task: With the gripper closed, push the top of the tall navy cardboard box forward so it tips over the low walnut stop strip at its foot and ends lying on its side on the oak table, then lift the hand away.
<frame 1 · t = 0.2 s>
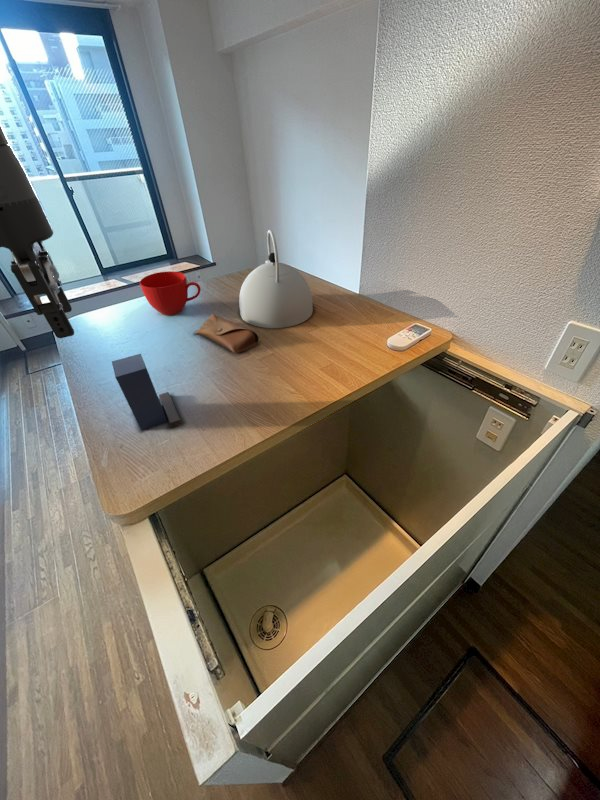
hand: (65, 323, 48), 23 cm above the table, tool pointing down, fingers open, 8 cm apart
kettle: (276, 309, 103), on the table
sunglasses case: (226, 338, 90), on the table
ceramic cup: (178, 311, 103), on the table
stop strip: (170, 410, 68), on the table
navy box: (151, 417, 66), on the table
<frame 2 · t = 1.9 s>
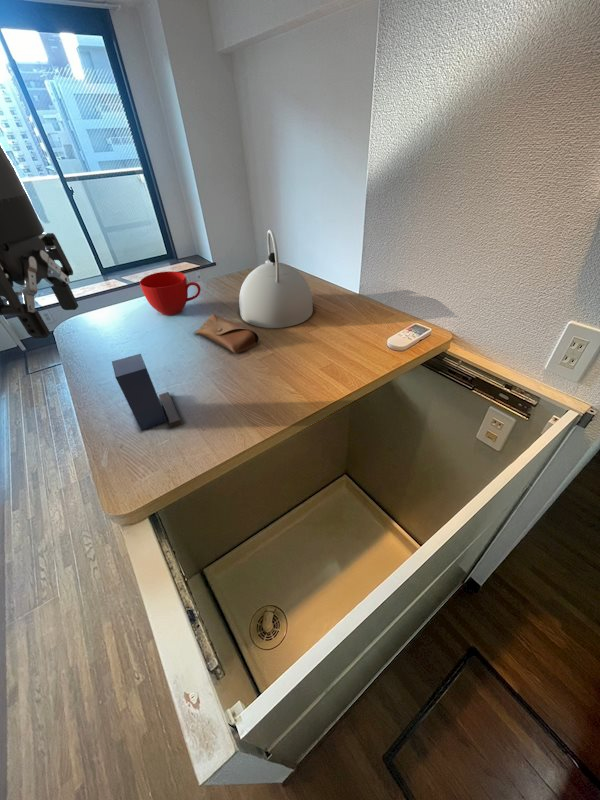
hand: (57, 322, 48), 23 cm above the table, tool pointing down, fingers open, 8 cm apart
nothing on the table moved.
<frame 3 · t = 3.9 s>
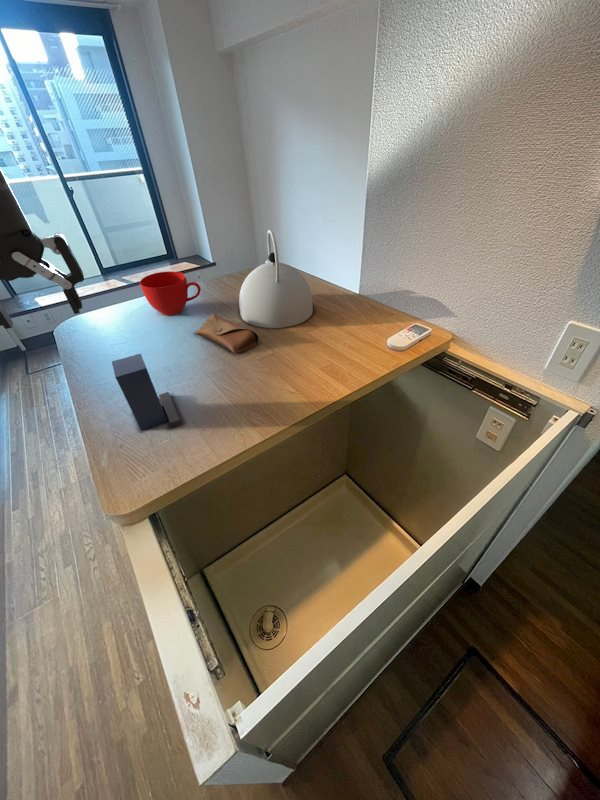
hand: (44, 318, 47), 24 cm above the table, tool pointing down, fingers open, 8 cm apart
nothing on the table moved.
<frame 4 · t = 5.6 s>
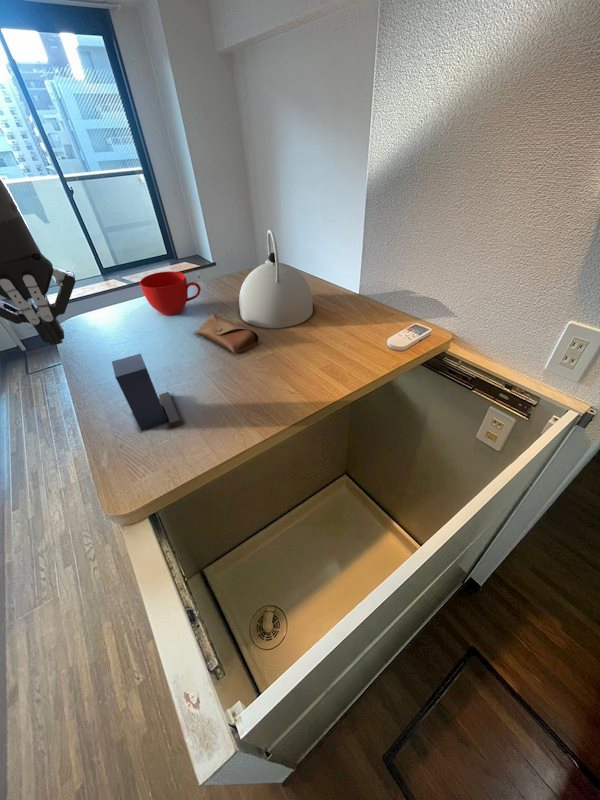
hand: (56, 342, 50), 20 cm above the table, tool pointing down, fingers closed
nothing on the table moved.
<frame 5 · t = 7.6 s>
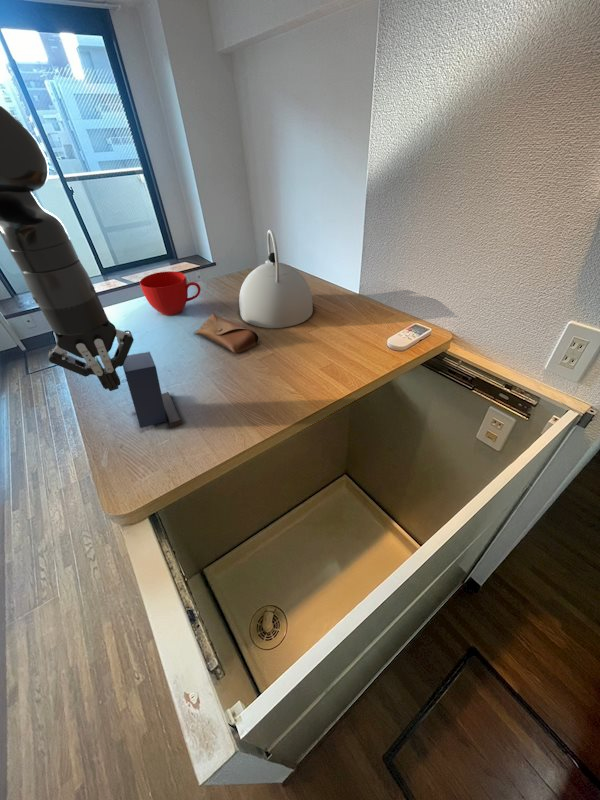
hand: (113, 387, 59), 9 cm above the table, tool pointing down, fingers closed
navy box: (151, 416, 66), on the table, tilted 7°
everything else where it was.
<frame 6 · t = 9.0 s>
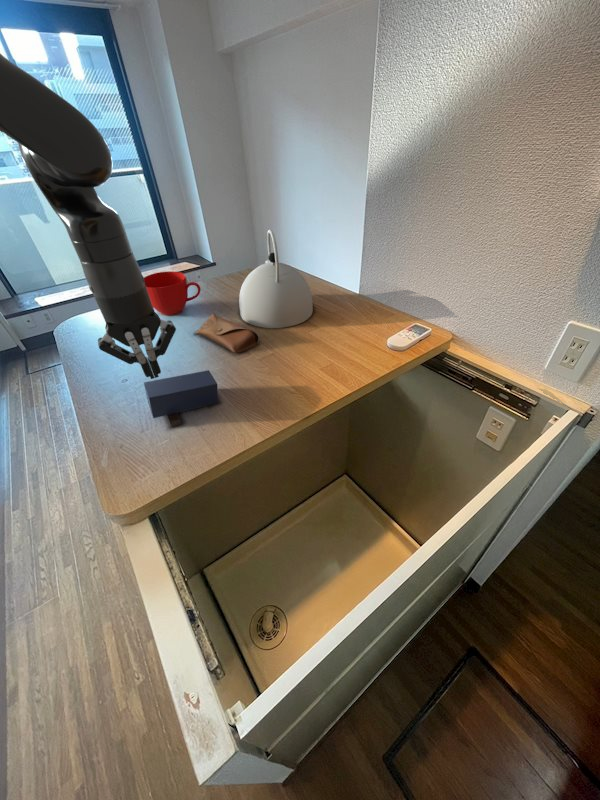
hand: (153, 375, 61), 9 cm above the table, tool pointing down, fingers closed
navy box: (148, 400, 64), point 4 cm above the table, tilted 98°, touching stop strip
everything else where it was.
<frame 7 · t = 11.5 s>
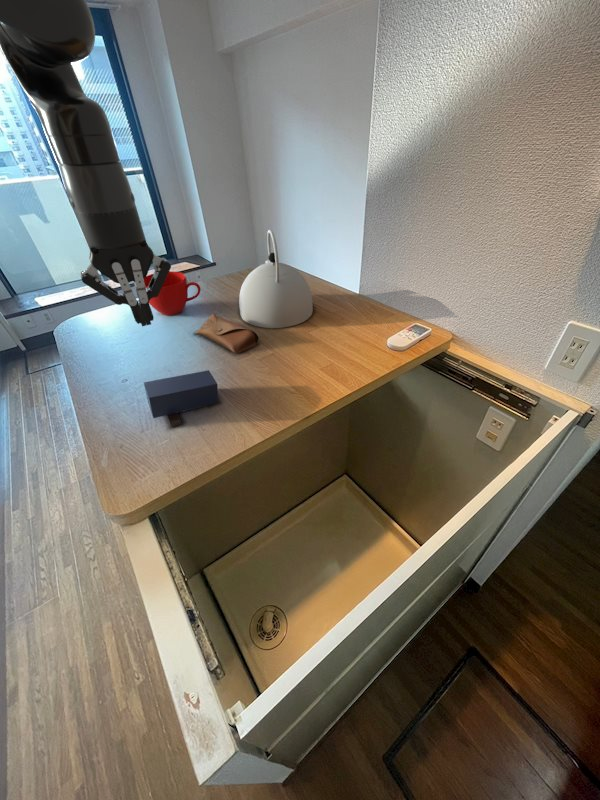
hand: (145, 323, 54), 20 cm above the table, tool pointing down, fingers closed
nothing on the table moved.
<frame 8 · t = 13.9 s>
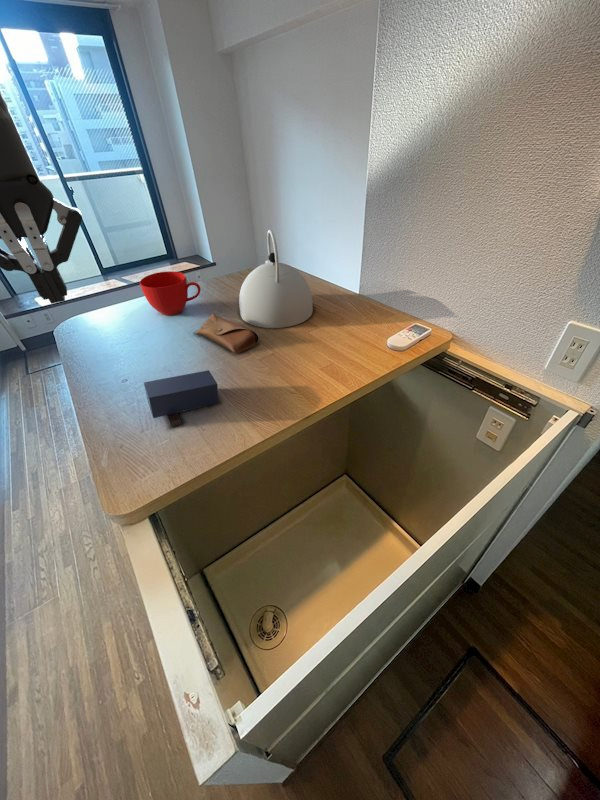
hand: (57, 300, 40), 29 cm above the table, tool pointing down, fingers closed
nothing on the table moved.
at the end: navy box tilted 98°; navy box inside the target area (2.8 cm from its centre), point 4.3 cm above the table; the gripper is holding nothing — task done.
